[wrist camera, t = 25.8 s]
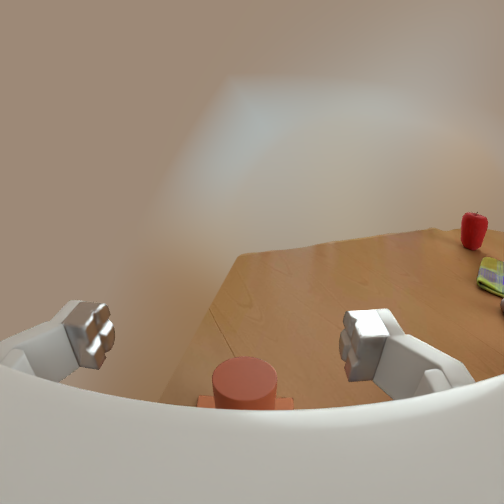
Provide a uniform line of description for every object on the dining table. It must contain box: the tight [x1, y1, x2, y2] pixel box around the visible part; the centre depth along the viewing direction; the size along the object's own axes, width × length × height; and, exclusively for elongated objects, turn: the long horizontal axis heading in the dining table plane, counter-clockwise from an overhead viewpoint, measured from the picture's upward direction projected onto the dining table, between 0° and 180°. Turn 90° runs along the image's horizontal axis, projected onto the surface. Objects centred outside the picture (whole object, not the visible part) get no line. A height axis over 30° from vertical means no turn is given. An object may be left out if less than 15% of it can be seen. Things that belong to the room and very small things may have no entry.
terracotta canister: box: [212, 357, 277, 410], centre depth 28 cm, size 6×6×10 cm
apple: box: [461, 212, 488, 250], centre depth 86 cm, size 11×10×14 cm
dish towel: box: [477, 257, 504, 298], centre depth 63 cm, size 18×24×3 cm
